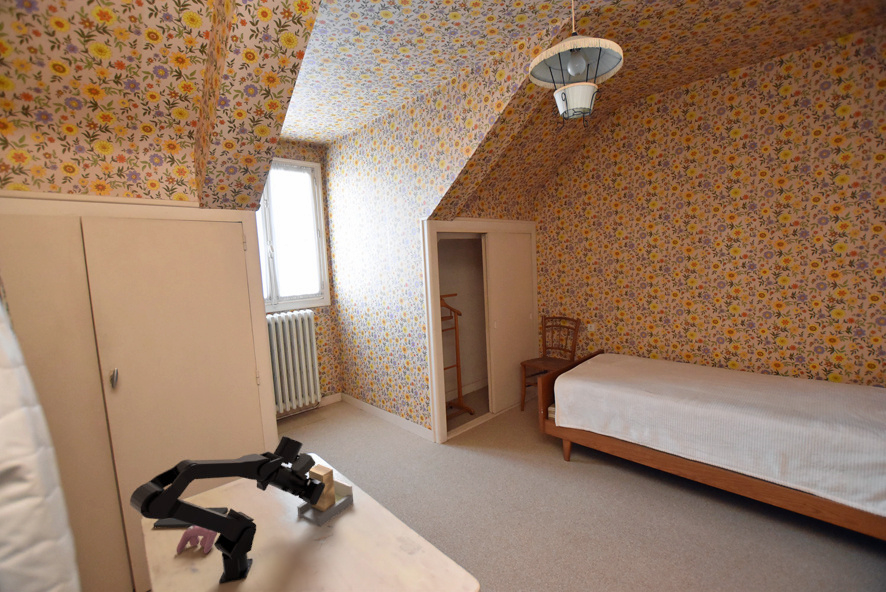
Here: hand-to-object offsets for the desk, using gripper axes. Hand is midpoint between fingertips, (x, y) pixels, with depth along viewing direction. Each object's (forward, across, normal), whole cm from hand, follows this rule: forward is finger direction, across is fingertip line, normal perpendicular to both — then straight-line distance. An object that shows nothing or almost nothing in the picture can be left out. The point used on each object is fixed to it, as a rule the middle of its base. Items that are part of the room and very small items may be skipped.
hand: (316, 492), depth 124 cm
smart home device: (-10, +35, +21) cm, 42 cm away
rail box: (+7, 0, +3) cm, 8 cm away
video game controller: (-14, +19, +25) cm, 34 cm away
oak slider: (+6, 0, +3) cm, 6 cm away
